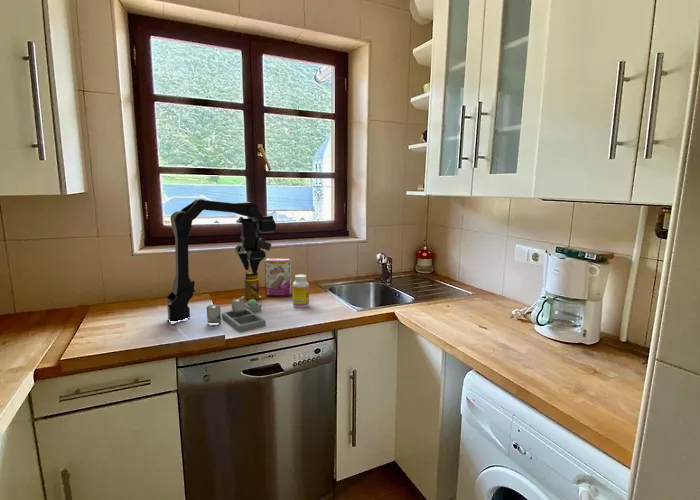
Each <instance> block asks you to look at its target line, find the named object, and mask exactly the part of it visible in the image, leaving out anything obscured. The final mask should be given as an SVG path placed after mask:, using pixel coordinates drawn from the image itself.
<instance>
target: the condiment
mask: <svg viewBox="0 0 700 500" xmlns="http://www.w3.org/2000/svg"><path fill="white" fill-rule="evenodd" d="M244 275H245V278H244V293H245V295H242V296H241V299H244V300H245V301H249V300H252V299H254V300H258V299H260V298H262V296H261V294H260V278H259V272H258V271H257V273H256V275H253V273H252V270H250V271H246V272H245V273H244Z"/></svg>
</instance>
